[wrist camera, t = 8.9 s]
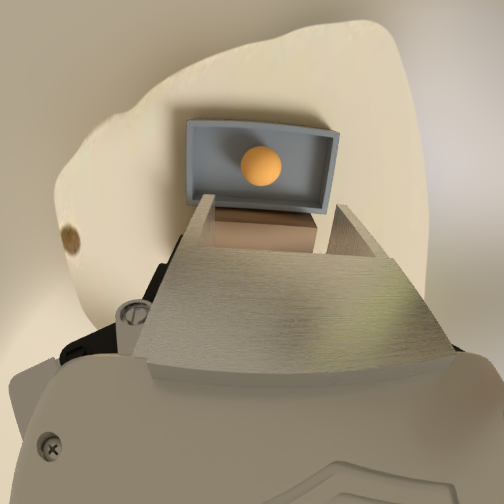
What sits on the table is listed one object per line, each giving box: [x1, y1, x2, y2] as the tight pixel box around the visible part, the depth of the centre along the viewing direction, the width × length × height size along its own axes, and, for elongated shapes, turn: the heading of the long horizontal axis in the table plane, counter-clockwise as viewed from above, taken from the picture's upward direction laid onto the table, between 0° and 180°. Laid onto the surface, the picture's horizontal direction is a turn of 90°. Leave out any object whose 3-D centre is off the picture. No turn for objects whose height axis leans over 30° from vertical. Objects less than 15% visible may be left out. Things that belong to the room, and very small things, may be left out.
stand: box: [214, 206, 317, 253], centre depth 31 cm, size 10×12×5 cm
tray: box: [186, 119, 340, 214], centre depth 27 cm, size 9×15×2 cm, turn 86°
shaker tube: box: [132, 194, 457, 388], centre depth 9 cm, size 6×6×9 cm
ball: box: [241, 146, 281, 186], centre depth 26 cm, size 4×4×4 cm
